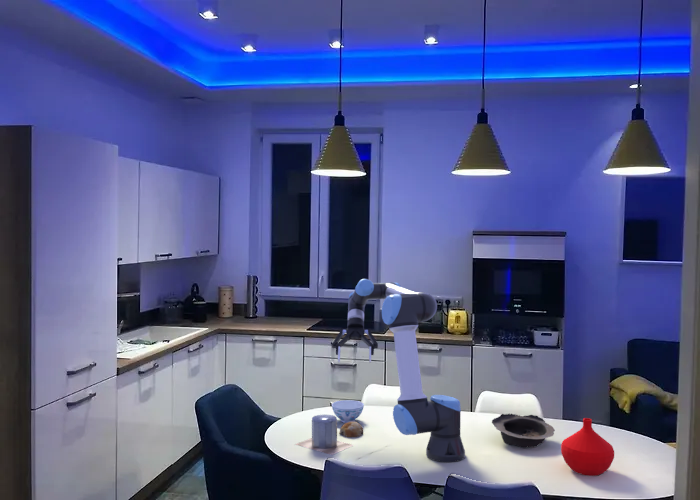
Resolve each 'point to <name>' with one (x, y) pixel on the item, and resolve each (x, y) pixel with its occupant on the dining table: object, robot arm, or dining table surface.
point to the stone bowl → (523, 429)
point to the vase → (587, 451)
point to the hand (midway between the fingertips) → (354, 360)
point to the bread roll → (351, 429)
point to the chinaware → (347, 410)
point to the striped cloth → (331, 451)
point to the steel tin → (324, 431)
